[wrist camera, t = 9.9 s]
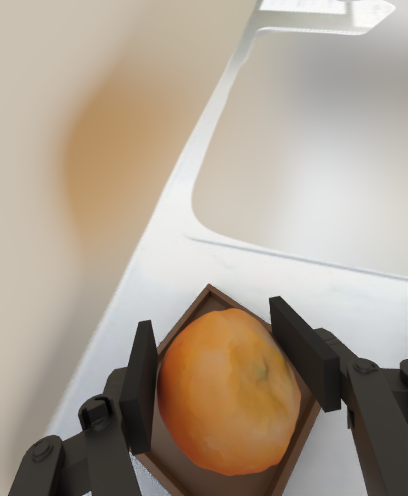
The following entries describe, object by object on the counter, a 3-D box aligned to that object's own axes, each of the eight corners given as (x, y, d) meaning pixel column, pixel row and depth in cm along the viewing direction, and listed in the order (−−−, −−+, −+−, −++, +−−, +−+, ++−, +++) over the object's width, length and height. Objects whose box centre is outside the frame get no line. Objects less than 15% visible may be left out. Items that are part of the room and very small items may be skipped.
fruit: (132, 335, 19) (182, 289, 13) (224, 335, 23) (293, 299, 17) (132, 485, 15) (205, 510, 9) (245, 454, 18) (346, 457, 13)
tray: (242, 558, 19) (245, 575, 17) (109, 418, 24) (99, 419, 22) (328, 373, 26) (338, 370, 24) (208, 291, 30) (208, 282, 28)
